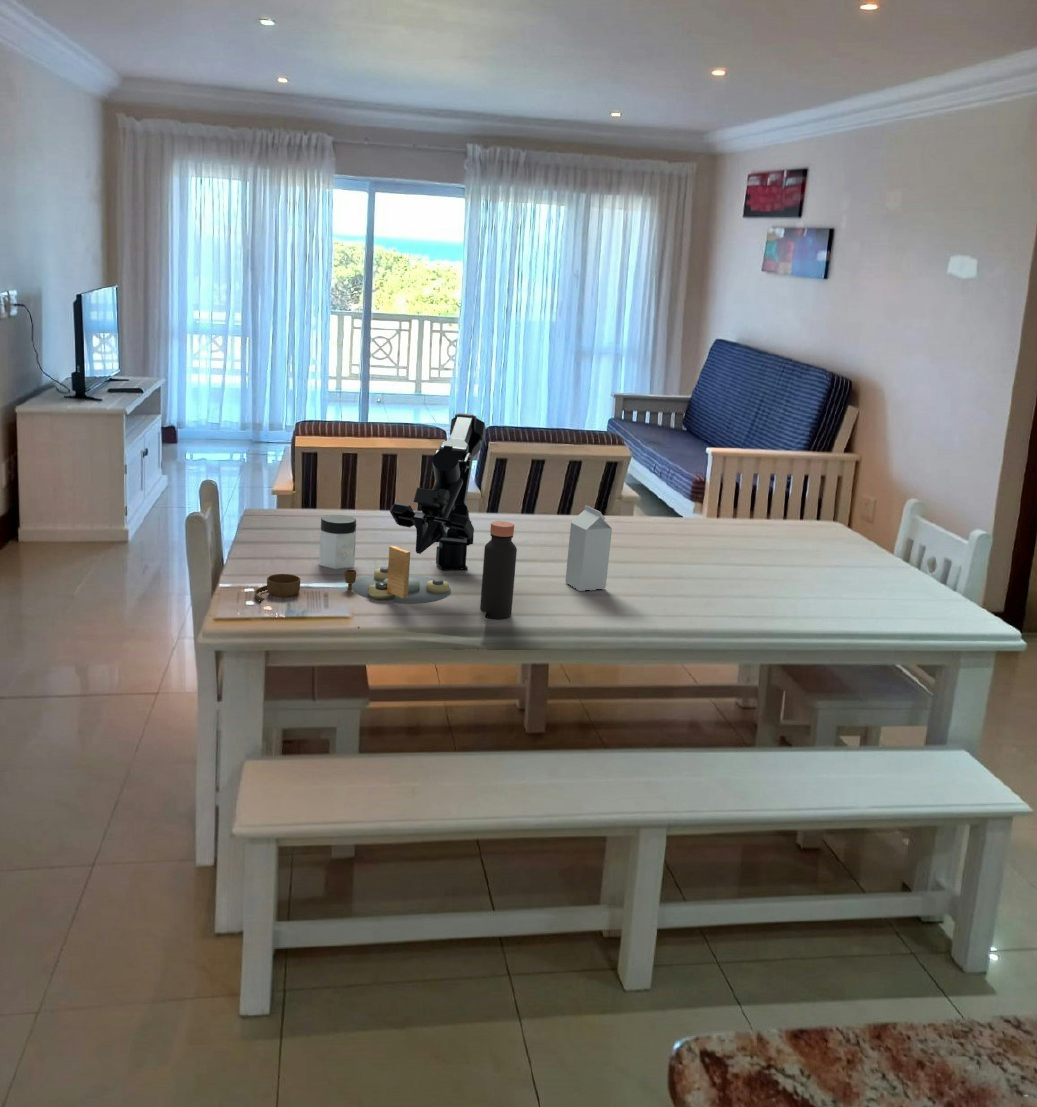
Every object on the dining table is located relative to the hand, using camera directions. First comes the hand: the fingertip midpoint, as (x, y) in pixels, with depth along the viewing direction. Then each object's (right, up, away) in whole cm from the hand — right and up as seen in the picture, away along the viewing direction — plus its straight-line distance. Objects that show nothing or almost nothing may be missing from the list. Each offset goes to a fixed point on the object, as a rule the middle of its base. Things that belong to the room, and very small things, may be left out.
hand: (417, 552), depth 236 cm
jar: (-21, -4, +19) cm, 29 cm away
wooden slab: (-6, -10, -4) cm, 12 cm away
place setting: (-24, -11, -5) cm, 27 cm away
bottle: (+17, -13, -4) cm, 22 cm away
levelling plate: (-4, -9, +5) cm, 11 cm away
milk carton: (+38, -8, +21) cm, 44 cm away
